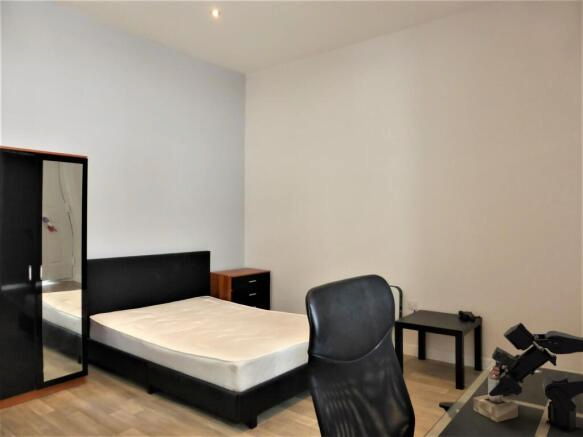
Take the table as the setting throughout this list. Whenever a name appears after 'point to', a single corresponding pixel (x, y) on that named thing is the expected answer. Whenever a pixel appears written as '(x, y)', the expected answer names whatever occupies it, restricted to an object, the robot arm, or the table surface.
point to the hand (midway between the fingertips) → (490, 391)
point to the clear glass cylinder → (492, 382)
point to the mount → (496, 408)
